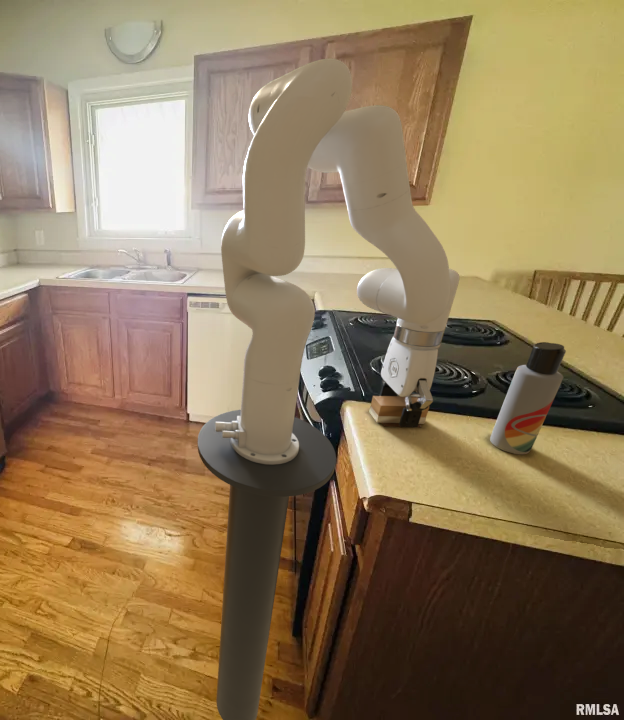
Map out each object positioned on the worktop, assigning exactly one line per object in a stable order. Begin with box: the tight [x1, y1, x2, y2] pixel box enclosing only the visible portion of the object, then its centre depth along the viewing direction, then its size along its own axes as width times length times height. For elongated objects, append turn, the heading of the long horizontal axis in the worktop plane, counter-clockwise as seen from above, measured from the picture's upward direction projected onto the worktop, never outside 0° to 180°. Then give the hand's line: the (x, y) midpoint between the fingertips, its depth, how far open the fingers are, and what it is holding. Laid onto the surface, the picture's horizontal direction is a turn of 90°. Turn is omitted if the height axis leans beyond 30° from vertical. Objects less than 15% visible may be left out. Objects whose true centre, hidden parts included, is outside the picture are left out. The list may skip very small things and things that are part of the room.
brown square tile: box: [381, 423, 422, 428], centre depth 81 cm, size 7×6×1 cm
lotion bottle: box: [489, 341, 567, 455], centre depth 68 cm, size 6×6×20 cm
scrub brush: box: [368, 395, 430, 425], centre depth 80 cm, size 9×4×4 cm, turn 83°
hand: (397, 413), depth 81 cm, fingers open, 8 cm apart
